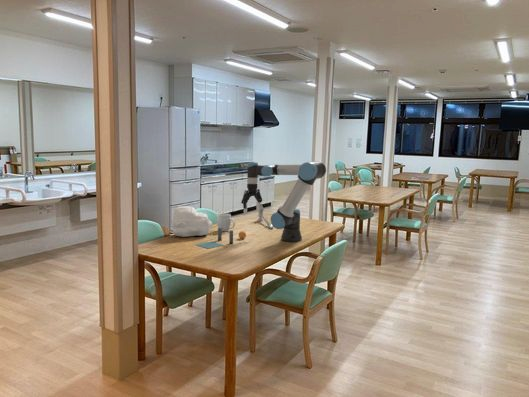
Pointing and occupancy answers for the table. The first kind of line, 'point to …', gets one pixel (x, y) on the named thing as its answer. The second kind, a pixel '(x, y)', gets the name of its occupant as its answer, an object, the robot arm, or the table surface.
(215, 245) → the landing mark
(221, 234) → the post
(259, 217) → the hammer
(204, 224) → the sculpture
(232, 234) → the post
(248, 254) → the table surface
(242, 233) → the ball
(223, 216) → the mug
